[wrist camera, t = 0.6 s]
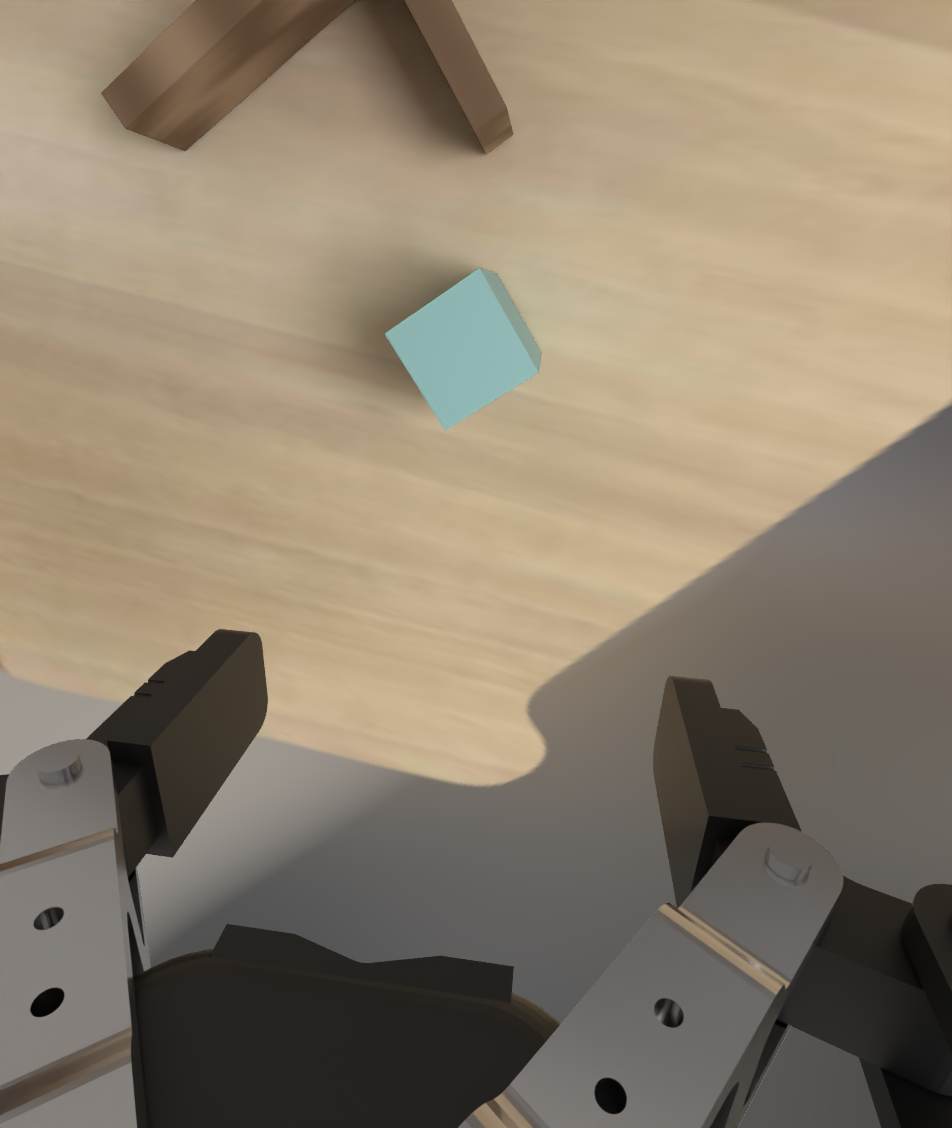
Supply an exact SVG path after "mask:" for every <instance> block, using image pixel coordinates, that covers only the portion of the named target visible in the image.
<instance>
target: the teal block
mask: <svg viewBox="0 0 952 1128" xmlns="http://www.w3.org/2000/svg"><path fill="white" fill-rule="evenodd" d="M385 335H386V337H387V339H388V340H389V342H390V343H391V345H392V347H393V348H394V350H395V351H396V353H397V355H398V356H399V358H400V359H401V361H402V363H403V364H404V366H405V367H406V369H407V371H408V372H409V374H410V375H411V377H412V378H413V380H414V382H415V383H416V385H417V386H418V388H419V390H420V391H421V393H422V394H423V396H424V398H425V399H426V401H427V402H428V404H429V406H430V407H431V409H432V410H433V412H434V414H435V415H436V417H437V418H438V420H439V421H440V423H441V425H442V426H443V428H444V429H445V430H447V429H448V428H450V427H451V426H453V425H455V424H456V423H458V422H460V421H461V420H463V419H464V418H466V417H468V416H469V415H471V414H473V413H474V412H476V411H477V410H479V409H481V408H482V407H484V406H485V405H487V404H489V403H490V402H492V401H494V400H495V399H497V398H498V397H500V396H502V395H503V394H505V393H507V392H508V391H510V390H511V389H513V388H515V387H516V386H518V385H519V384H521V383H523V382H524V381H526V380H528V379H529V378H531V377H532V376H534V375H536V374H537V373H539V367H540V360H541V351H540V349H539V347H538V346H537V344H536V342H535V340H534V338H533V337H532V335H531V333H530V331H529V330H528V328H527V326H526V324H525V322H524V321H523V319H522V317H521V315H520V313H519V312H518V310H517V308H516V306H515V304H514V303H513V301H512V299H511V297H510V296H509V294H508V292H507V290H506V288H505V287H504V285H503V283H502V281H501V279H500V278H499V276H498V274H497V273H494V272H490V271H487V270H484V269H481V268H479V269H477V270H476V271H475V272H473V273H472V274H470V275H469V276H467V277H466V278H464V279H463V280H461V281H460V282H459V283H457V284H456V285H454V286H453V287H451V288H450V289H448V290H447V291H446V292H444V293H443V294H441V295H440V296H438V297H437V298H435V299H434V300H433V301H431V302H430V303H428V304H427V305H425V306H424V307H422V308H421V309H420V310H418V311H417V312H415V313H414V314H412V315H411V316H409V317H408V318H406V319H405V320H404V321H402V322H401V323H399V324H398V325H396V326H395V327H393V328H392V329H391V330H389V331H388V332H386V333H385Z"/></svg>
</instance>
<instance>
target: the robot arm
mask: <svg viewBox="0 0 952 1128" xmlns="http://www.w3.org/2000/svg"><path fill="white" fill-rule="evenodd" d="M267 704H268V696H267V687H266V677H265V668H264V659H263V649H262V642H261V638H260V636H259V635H258V634H257V633H254V632H244V631H234V630H224V629H219V630H217V631H215V632H214V633H213V634H212V635H211V636H210V637H209V638H208V639H207V640H206V641H205V642H204V643H203V644H202V645H201V646H200V647H199V648H198V649H197V650H196V651H188V652H186V653H184V654H182V655H180V656H178V657H176V658H175V659H173V660H171V661H169V662H167V663H165V664H164V665H163V666H162V667H161V668H160V669H159V670H158V671H157V672H156V673H155V674H154V675H152V676H151V677H150V678H149V679H148V683H144V684H143V685H142V686H141V687H140V688H139V689H138V690H137V691H136V692H135V694H134V696H131V697H129V698H128V699H127V700H126V701H125V702H124V703H123V704H122V705H121V706H120V707H119V708H118V709H117V710H116V711H115V712H114V713H113V714H112V715H111V716H110V717H109V718H108V719H107V720H105V722H103V723H102V724H101V725H100V726H99V727H98V728H97V729H96V730H95V731H94V732H93V733H92V734H91V735H90V736H89V737H88V738H87V739H76V740H68V741H63V742H59V743H56V744H52V745H50V746H47V747H44V748H42V749H40V750H38V751H36V752H34V753H32V754H31V755H29V756H27V757H26V758H25V759H23V760H22V761H21V762H19V763H18V764H17V765H16V766H15V767H14V769H13V770H12V771H11V772H10V774H8V775H0V1128H738V1127H739V1125H740V1123H741V1121H742V1119H743V1117H744V1115H745V1113H746V1111H747V1109H748V1107H749V1105H750V1103H751V1101H752V1099H753V1098H754V1096H755V1094H756V1092H757V1090H758V1088H759V1086H760V1084H761V1082H762V1080H763V1078H764V1076H765V1074H766V1073H767V1071H768V1069H769V1067H770V1065H771V1063H772V1061H773V1059H774V1057H775V1056H776V1053H777V1052H778V1050H779V1048H780V1046H781V1044H782V1042H783V1040H784V1038H785V1036H786V1034H787V1033H788V1031H789V1029H790V1027H791V1026H793V1027H795V1028H797V1029H799V1030H801V1031H804V1032H806V1033H808V1034H810V1035H812V1036H815V1037H816V1038H819V1039H821V1040H823V1041H825V1042H827V1043H829V1044H831V1045H834V1046H836V1047H838V1048H840V1049H842V1050H844V1051H847V1052H849V1053H851V1054H853V1055H855V1056H857V1057H859V1059H860V1062H861V1065H862V1068H863V1072H864V1075H865V1078H866V1081H867V1084H868V1087H869V1090H870V1093H871V1097H872V1100H873V1103H874V1106H875V1109H876V1112H877V1115H878V1118H879V1122H880V1125H881V1128H952V885H947V884H932V885H928V886H925V887H923V888H922V889H920V890H919V891H918V892H917V894H916V895H915V898H914V900H913V902H912V904H911V903H909V902H906V901H903V900H901V899H898V898H895V897H892V896H890V895H887V894H884V893H881V892H879V891H876V890H873V889H871V888H868V887H866V886H863V885H861V884H858V883H856V882H854V881H852V880H850V879H848V878H846V877H844V876H843V874H842V871H841V868H840V866H839V864H838V863H837V861H836V859H835V858H834V857H833V855H832V854H831V853H830V852H829V851H828V850H827V849H826V848H825V847H824V846H823V845H822V844H820V843H819V842H818V841H816V840H815V839H814V838H812V837H810V836H809V835H807V834H805V833H803V832H802V831H801V829H800V827H799V824H798V822H797V820H796V817H795V815H794V813H793V810H792V808H791V805H790V803H789V801H788V798H787V796H786V794H785V791H784V789H783V786H782V784H781V782H780V779H779V777H778V775H777V772H776V771H774V765H773V763H772V761H771V758H770V756H769V754H768V753H767V752H766V751H767V749H766V746H765V744H764V742H763V740H762V737H761V735H760V733H759V730H758V729H757V727H755V725H753V724H752V722H751V721H749V719H747V718H746V717H745V716H744V715H743V714H742V713H741V712H740V711H739V710H735V709H726V708H721V707H720V704H719V701H718V698H717V696H716V693H715V690H714V687H713V684H712V682H711V681H710V680H706V679H696V678H686V677H676V676H669V677H668V679H667V681H666V684H665V689H664V695H663V700H662V705H661V711H660V716H659V721H658V727H657V733H656V738H655V744H654V754H653V770H654V779H655V784H656V790H657V796H658V802H659V807H660V813H661V818H662V825H663V830H664V836H665V842H666V847H667V853H668V859H669V864H670V870H671V876H672V881H673V887H674V893H675V899H676V904H677V908H676V907H674V906H673V905H672V904H670V903H666V904H664V905H662V906H661V907H660V908H659V909H658V910H657V911H656V912H655V913H654V914H653V915H652V917H651V918H650V919H649V920H648V921H647V922H646V924H645V925H644V926H643V927H642V928H641V930H640V931H639V932H638V933H637V934H636V936H635V937H634V938H633V939H632V940H631V942H630V943H629V944H628V945H627V946H626V948H625V949H624V950H623V951H622V952H621V953H620V955H619V956H618V957H617V958H616V959H615V961H614V962H613V963H612V964H611V965H610V966H609V968H608V969H607V970H606V971H605V973H604V974H603V975H602V976H601V977H600V978H599V979H598V981H597V982H596V983H595V984H594V985H593V987H592V988H591V989H590V990H589V991H588V992H587V994H586V995H585V996H584V997H583V998H582V1000H581V1001H580V1002H579V1003H578V1004H577V1006H576V1007H575V1008H574V1009H573V1010H572V1012H571V1013H570V1014H569V1015H568V1016H567V1017H566V1019H565V1020H564V1021H563V1022H562V1023H560V1022H559V1021H558V1020H557V1019H555V1018H554V1017H553V1016H551V1015H550V1014H549V1013H548V1012H546V1011H545V1010H544V1009H542V1008H541V1007H539V1006H538V1005H536V1004H534V1003H532V1002H531V1001H529V1000H527V999H526V998H523V997H521V996H519V995H517V994H515V993H513V992H512V980H513V968H514V967H513V966H506V965H499V964H493V963H486V962H479V961H472V960H465V959H459V958H452V957H445V956H434V957H424V958H414V959H405V960H395V961H385V962H375V963H360V962H356V961H354V960H351V959H349V958H347V957H345V956H343V955H340V954H338V953H336V952H334V951H331V950H329V949H327V948H325V947H323V946H320V945H318V944H316V943H314V942H311V941H309V940H307V939H305V938H303V937H300V936H298V935H296V934H290V933H284V932H277V931H270V930H264V929H257V928H250V927H244V926H237V925H230V924H227V925H226V927H225V929H224V931H223V932H222V935H221V936H220V938H219V940H218V942H217V944H216V946H215V948H214V949H208V950H203V951H198V952H193V953H189V954H186V955H183V956H180V957H176V958H173V959H170V960H168V961H166V962H163V963H161V964H159V965H157V966H154V967H152V968H151V967H150V960H149V952H148V944H147V937H146V930H145V921H144V914H143V905H142V898H141V890H140V882H139V876H138V872H137V868H136V867H137V865H138V864H139V863H140V861H141V860H142V858H143V857H144V856H145V854H152V855H159V856H166V857H173V856H174V855H175V853H176V852H177V851H178V849H179V848H180V846H181V845H182V843H183V842H184V840H185V839H186V837H187V836H188V834H189V833H190V832H191V830H192V828H193V827H194V826H195V824H196V823H197V821H198V820H199V818H200V817H201V815H202V814H203V812H204V811H205V809H206V808H207V807H208V805H209V804H210V802H211V801H212V799H213V798H214V796H215V795H216V793H217V792H218V790H219V789H220V787H221V786H222V785H223V783H224V782H225V780H226V779H227V777H228V776H229V774H230V773H231V771H232V770H233V768H234V767H235V766H236V764H237V763H238V761H239V760H240V758H241V757H242V755H243V754H244V752H245V751H246V749H247V748H248V746H249V745H250V744H251V742H252V741H253V739H254V738H255V736H256V735H257V733H258V732H259V730H260V729H261V727H262V725H263V722H264V719H265V716H266V712H267Z"/></svg>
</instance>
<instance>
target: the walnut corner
mask: <svg viewBox="0 0 952 1128" xmlns="http://www.w3.org/2000/svg"><path fill="white" fill-rule="evenodd" d="M354 1H355V0H196V1H195V2H194V3H193V4H192V5H191V6H190V7H189V8H188V9H187V10H186V11H185V12H184V13H183V14H182V15H181V16H180V17H179V18H178V19H177V20H176V21H175V22H173V23H172V24H171V25H170V26H169V27H168V28H167V29H166V30H165V31H164V32H163V33H162V34H161V35H160V36H159V37H158V38H157V39H156V40H155V41H154V42H153V43H152V44H151V45H150V46H149V47H148V48H147V49H146V50H145V51H144V52H143V53H142V54H141V55H140V56H139V57H138V58H137V59H136V60H135V61H133V62H132V63H131V64H130V65H129V66H128V67H127V68H126V69H125V70H124V71H123V72H122V73H121V74H120V75H119V76H118V77H117V78H116V79H115V80H114V81H113V82H112V83H111V84H110V85H109V86H108V87H107V88H106V89H105V90H104V91H103V92H102V93H101V94H102V95H103V97H104V98H105V100H106V101H107V102H108V104H109V105H110V107H111V108H112V110H113V111H114V113H115V114H116V116H117V117H118V119H119V120H120V121H121V123H122V124H123V126H124V127H125V128H126V129H128V130H131V131H134V132H136V133H139V134H142V135H144V136H147V137H150V138H152V139H155V140H157V141H160V142H163V143H165V144H168V145H171V146H173V147H176V148H179V149H181V150H184V151H186V150H187V149H188V148H189V147H190V146H192V145H193V144H194V143H195V142H196V141H197V140H198V139H199V138H201V137H202V136H203V135H204V134H205V133H206V132H207V131H208V130H210V129H211V128H212V127H213V126H214V125H215V124H216V123H217V122H219V121H220V120H221V119H222V118H223V117H224V116H225V115H226V114H228V113H229V112H230V111H231V110H232V109H233V108H234V107H235V106H237V105H238V104H239V103H240V102H241V101H242V100H243V99H244V98H246V97H247V96H248V95H249V94H250V93H251V92H252V91H253V90H255V89H256V88H257V87H258V86H259V85H260V84H261V83H262V82H264V81H265V80H266V79H267V78H268V77H269V76H270V75H272V74H273V73H274V72H275V71H276V70H277V69H278V68H279V67H281V66H282V65H283V64H284V63H285V62H286V61H287V60H288V59H290V58H291V57H292V56H293V55H294V54H295V53H296V52H297V51H299V50H300V49H301V48H302V47H303V46H304V45H305V44H306V43H308V42H309V41H310V40H311V39H312V38H313V37H314V36H315V35H317V34H318V33H319V32H320V31H321V30H322V29H323V28H324V27H326V26H327V25H328V24H329V23H330V22H331V21H332V20H333V19H335V18H336V17H337V16H338V15H339V14H340V13H341V12H342V11H344V10H345V9H346V8H347V7H348V6H349V5H350V4H351V3H353V2H354ZM404 2H405V4H406V6H407V7H408V9H409V11H410V13H411V15H412V17H413V19H414V20H415V22H416V24H417V26H418V28H419V30H420V32H421V34H422V35H423V37H424V39H425V41H426V43H427V45H428V47H429V49H430V50H431V52H432V54H433V56H434V58H435V60H436V62H437V63H438V65H439V67H440V69H441V71H442V73H443V75H444V77H445V78H446V80H447V82H448V84H449V86H450V88H451V90H452V91H453V93H454V95H455V97H456V99H457V101H458V103H459V105H460V106H461V108H462V110H463V112H464V114H465V116H466V118H467V120H468V121H469V123H470V125H471V127H472V129H473V131H474V133H475V134H476V136H477V138H478V140H479V142H480V144H481V146H482V148H483V149H484V151H485V153H486V155H487V154H488V153H489V152H491V151H492V150H493V149H495V148H496V147H497V146H499V145H500V144H501V143H503V142H504V141H505V140H507V139H508V138H509V137H511V136H512V135H513V131H512V127H511V123H510V119H509V115H508V111H507V107H506V105H505V103H504V101H503V99H502V97H501V95H500V94H499V92H498V90H497V88H496V86H495V84H494V82H493V80H492V78H491V76H490V74H489V72H488V70H487V68H486V66H485V64H484V63H483V61H482V59H481V57H480V55H479V53H478V51H477V49H476V47H475V45H474V43H473V41H472V39H471V37H470V35H469V33H468V31H467V30H466V28H465V26H464V24H463V22H462V20H461V18H460V16H459V14H458V12H457V10H456V8H455V6H454V4H453V2H452V0H404Z"/></svg>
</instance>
